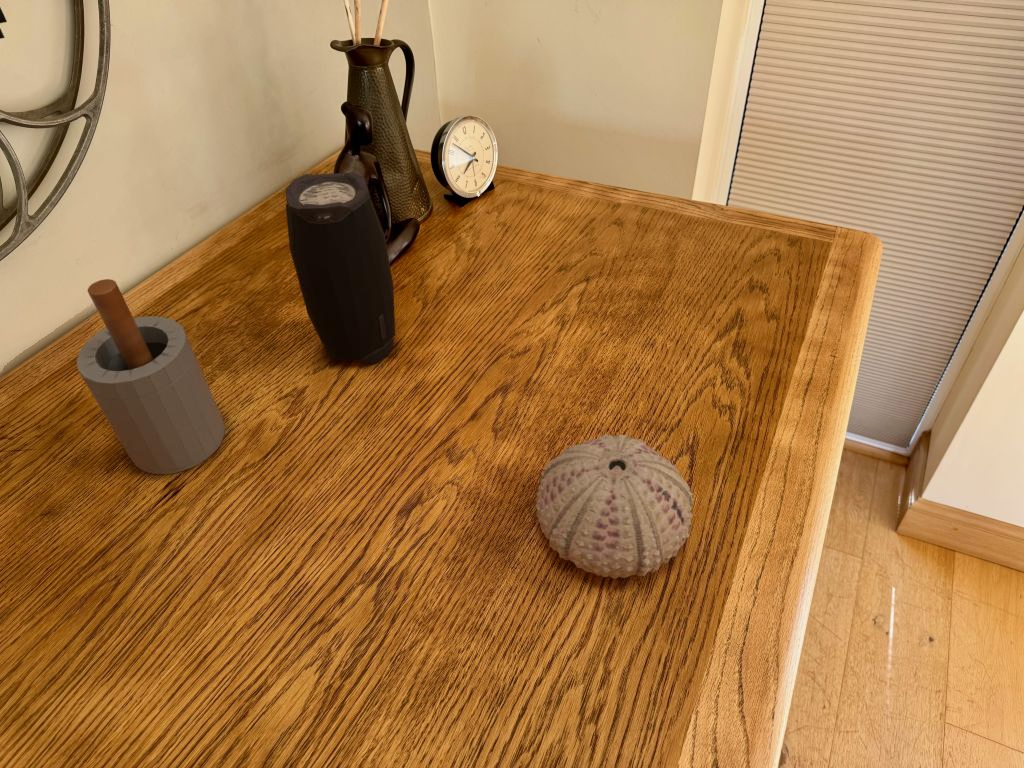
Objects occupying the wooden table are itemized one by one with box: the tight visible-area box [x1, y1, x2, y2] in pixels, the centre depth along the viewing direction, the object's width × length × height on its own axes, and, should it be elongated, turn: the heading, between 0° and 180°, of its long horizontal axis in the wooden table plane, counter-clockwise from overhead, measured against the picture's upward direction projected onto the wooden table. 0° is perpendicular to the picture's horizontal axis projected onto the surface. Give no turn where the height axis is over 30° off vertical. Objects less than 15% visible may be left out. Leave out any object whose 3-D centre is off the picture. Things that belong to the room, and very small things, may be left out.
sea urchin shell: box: [534, 433, 696, 580], centre depth 61 cm, size 13×14×8 cm
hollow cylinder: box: [76, 315, 226, 475], centre depth 68 cm, size 9×9×12 cm
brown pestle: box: [87, 278, 154, 370], centre depth 65 cm, size 4×4×18 cm
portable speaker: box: [285, 171, 396, 366], centre depth 75 cm, size 9×9×20 cm
